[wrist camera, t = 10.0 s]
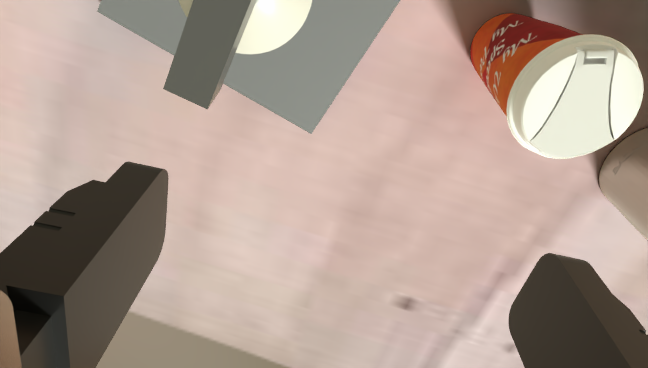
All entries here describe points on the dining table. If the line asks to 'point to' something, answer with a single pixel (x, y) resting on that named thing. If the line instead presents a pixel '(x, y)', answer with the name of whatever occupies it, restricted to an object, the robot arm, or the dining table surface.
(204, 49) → the coupling
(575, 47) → the paper cup
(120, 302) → the robot arm
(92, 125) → the dining table surface
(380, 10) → the post board
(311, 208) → the dining table surface
